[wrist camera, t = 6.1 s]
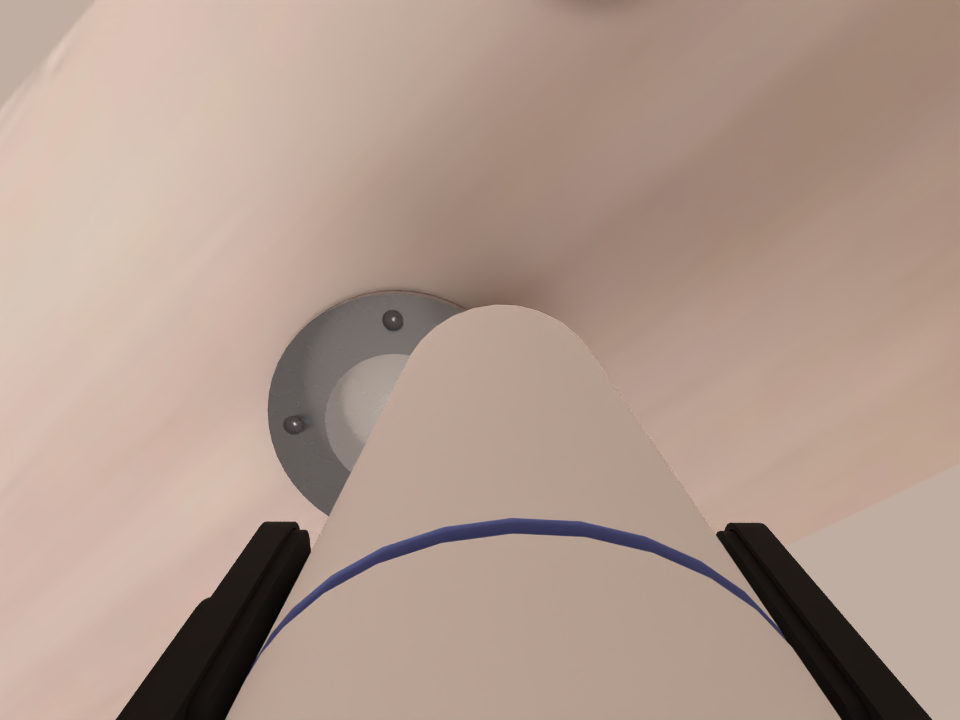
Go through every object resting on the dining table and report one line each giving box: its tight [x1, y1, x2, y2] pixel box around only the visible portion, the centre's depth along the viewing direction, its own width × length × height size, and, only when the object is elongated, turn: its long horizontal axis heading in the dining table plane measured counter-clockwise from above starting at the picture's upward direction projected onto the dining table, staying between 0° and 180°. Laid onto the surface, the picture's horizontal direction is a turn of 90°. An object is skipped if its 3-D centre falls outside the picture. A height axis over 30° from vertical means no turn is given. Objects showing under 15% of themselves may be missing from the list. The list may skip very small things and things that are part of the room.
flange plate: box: [268, 291, 467, 516], centre depth 34 cm, size 16×16×1 cm
